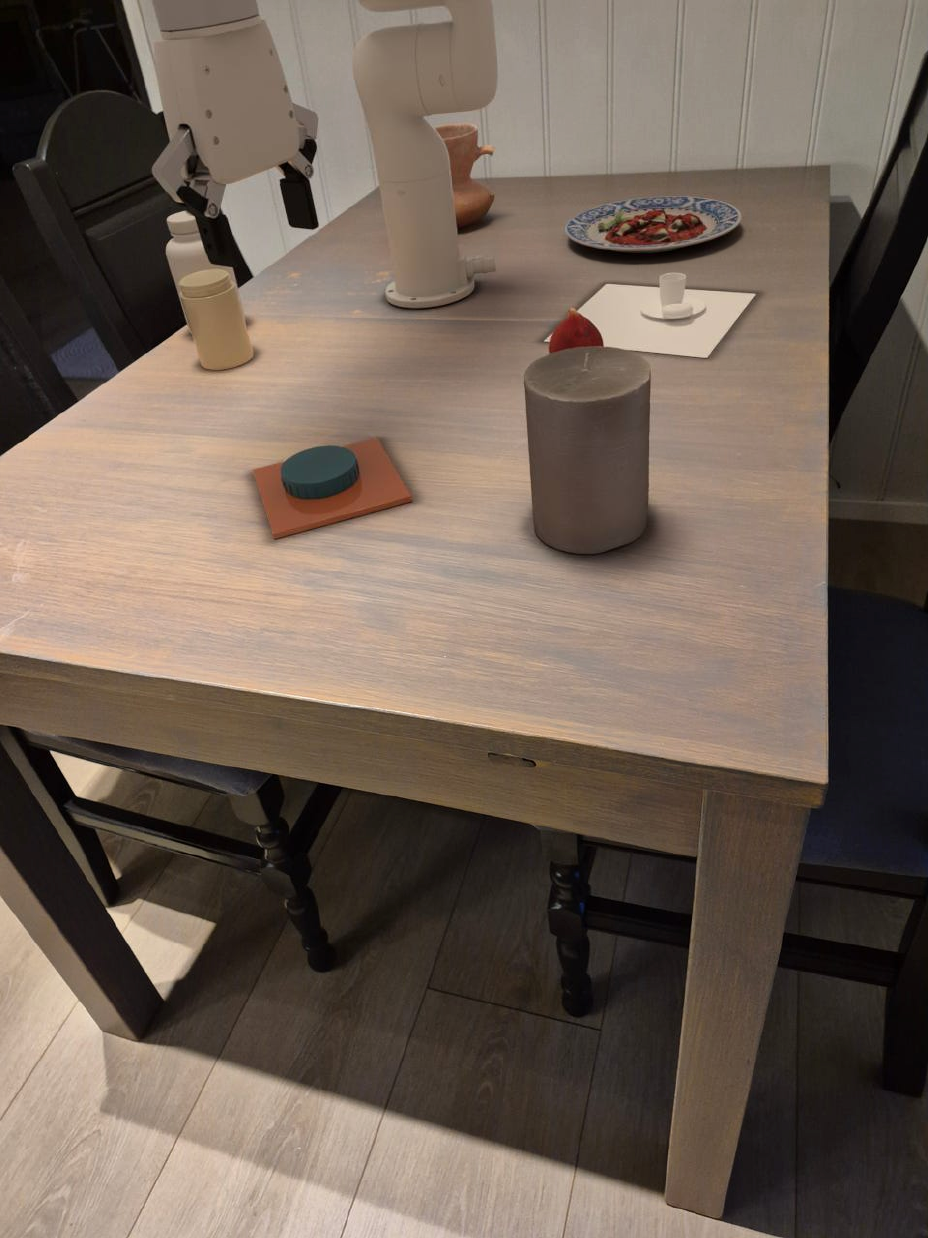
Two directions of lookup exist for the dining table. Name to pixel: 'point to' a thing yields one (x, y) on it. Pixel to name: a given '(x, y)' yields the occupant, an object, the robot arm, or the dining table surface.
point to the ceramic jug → (466, 172)
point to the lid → (319, 472)
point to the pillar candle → (588, 447)
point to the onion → (575, 333)
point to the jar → (215, 319)
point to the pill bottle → (189, 252)
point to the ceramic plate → (653, 223)
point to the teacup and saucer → (663, 316)
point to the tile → (366, 495)
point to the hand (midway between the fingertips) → (266, 245)
